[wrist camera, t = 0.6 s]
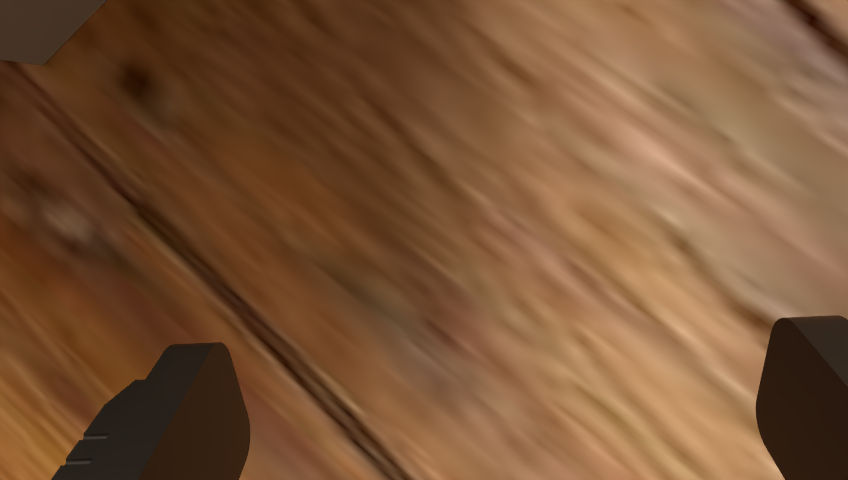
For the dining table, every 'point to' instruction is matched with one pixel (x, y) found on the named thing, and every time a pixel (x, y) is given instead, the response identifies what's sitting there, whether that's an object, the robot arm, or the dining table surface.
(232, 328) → the dining table surface
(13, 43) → the block
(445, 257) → the dining table surface
